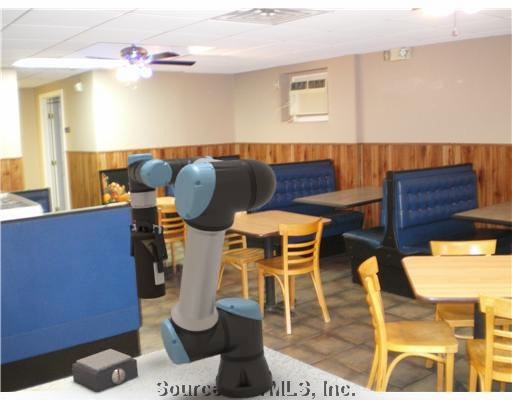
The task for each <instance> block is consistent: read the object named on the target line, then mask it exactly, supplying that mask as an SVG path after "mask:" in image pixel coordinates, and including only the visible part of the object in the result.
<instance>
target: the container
mask: <svg viewBox="0 0 512 400" xmlns="http://www.w3.org/2000/svg"><path fill="white" fill-rule="evenodd" d="M131 238H132V239H133V243H134V255H135V259H134V265H135V281H136V297H137V298H138V299H141V300H152V299H159V298H162V297H165V296H166V294H167V293H166V284H165V282H166V281H165V280H164V283H162V284H158V285H155V274H154V261H155V259H154V256H153V253H152V244H156V242H155V237H154V233H153V232H143V231H135V232H133V233H132V234H131V233H130V239H131ZM158 258H159V257H158Z"/></svg>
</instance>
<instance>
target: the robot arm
mask: <svg viewBox="0 0 512 400" xmlns="http://www.w3.org/2000/svg"><path fill="white" fill-rule="evenodd" d="M126 159H127V161H126V164H127V165H126V168H127V174H128V175H127V177H128V186H129V197H130V199H129V200H130V206H131V207H132V208H131V210H130V211H131V219H132V220H133V221H135V223H134V224H130V225H129V231H130V235H131V234H132V233H133V232H135V231H143V232H153V233H154V237H155V242H156V244H152V253H153V256H154V259H155V261H154V274H155V285H158V284H162V283H164V281H165V267H164V262H165V261H166V260H168V259H169V255H168V249H167V245H166V240H165V235H164V225H157V222H156V219H158V218H159V212H158V210H159V209H158V206H157V204H158V203H157V191H156V189H157V188H163V187H169V186H174V188H173V197H174V207H175V210H176V213H177V214H178V216H179V217H180V218H181V219H182V222H183V223H184V224H185V225H186V226H187V227H186V237H185V245H184V246H185V247H184V252H183V253H184V254H183V263H182V271H181V272H182V273H181V279H180V287H179V288H180V289H179V299H178V302H177V303H175V305H173V307H172V308H171V310H170V311H171V313H170V317H169V318H167V317H166V318H165V319H163V320H161V322H160V334H161V339H162V343H163V346H164V348H165V352H166V354H167V356H168V358H169V360H170V361H171V362H172V363H173V364H174V365H176V366H177V365H178V366H180V365H186V364H191V363H194V362H198V361H201V360H205V359H208V358H213V357H215V356H220V357H219V358H220V360H219V364H218V369H217V374H216V377H215V389H216V391H217V392H218V393H219V394H221V395H223V396H226V397H229V398H250V397H255V396H256V397H257V396H259V395H261V394H264V393H266V392H267V391H269V390H270V389H271V388H272V387H273V384H274V383H273V374H272V371H271V369H270V366H269V364H268V361H267V359H266V356H265V349H264V333H263V320H264V319H263V316H262V308H261V305H260V304H259V303H258V302H257V301H255V300H253V299H249V298H242V297H225V298H220V299H218V300H217V301H216V293H217V288H218V283H219V277H220V276H219V275H220V269H221V262H222V256H223V249H224V244H225V243H224V242H225V236H226V232H227V231H228V230H230V229H231V228H232V227H233V226H234V222H235V218H236V214H237V213H242V212H249V211H253V210H257V209H260V208H261V207H263V206H265V205H267V203H268V202H270V200H271V199H272V197H273V196H274V194H275V192H276V188H277V178H276V173H275V172H274V170H273V169H272V167H271V166H270V165H269V164H268V163H266V162H265V161H262V160H259V159H255V158H241V159H231V160H220V159H214V158H213V156H209V155H207V156H205V155H198V156H192V157H191V156H189V157H178V158H177V157H176V158H161V159H160V158H159V159H157V158H156V159H154V156H153V154H152V153H149V152H148V153H135V154H128V155H127V158H126ZM129 240H130V242H129V243H130V245H129V246H130V249H129V250H130V251H129V252H130V253H129V255H130V257H132V258H133V259H134V260H135V255H134V243H133V239H132V238H131V237H130V239H129ZM158 257H159V258H158ZM215 302H216V303H215Z"/></svg>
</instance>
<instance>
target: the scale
mask: <svg viewBox="0 0 512 400" xmlns="http://www.w3.org/2000/svg"><path fill="white" fill-rule="evenodd" d="M71 367H72V368H71V370H72V378H73V379H72V380H73V382H74V383H76V384H77V385H80V386H82V387H84V388H86V389H89V390H90V391H91V392H94V393H96V392H99V393H101V392H103V391H106V390H108V389H111V388H114V387H116V386H119V385H121V384H123V383H126V382H128V381H130V380H133V379H135V378H138V377H139V371H138V360H137V358H136V359H135V358H133V357H132V356H130V355H128V354H126V353H123V352H120V351H117V350H114V349H112V348H109V349H106V350H103V351H100V352H98V353H94V354H92V355H89V356H86V357H83V358H80V359H76V362H75V363H72V364H71Z"/></svg>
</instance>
